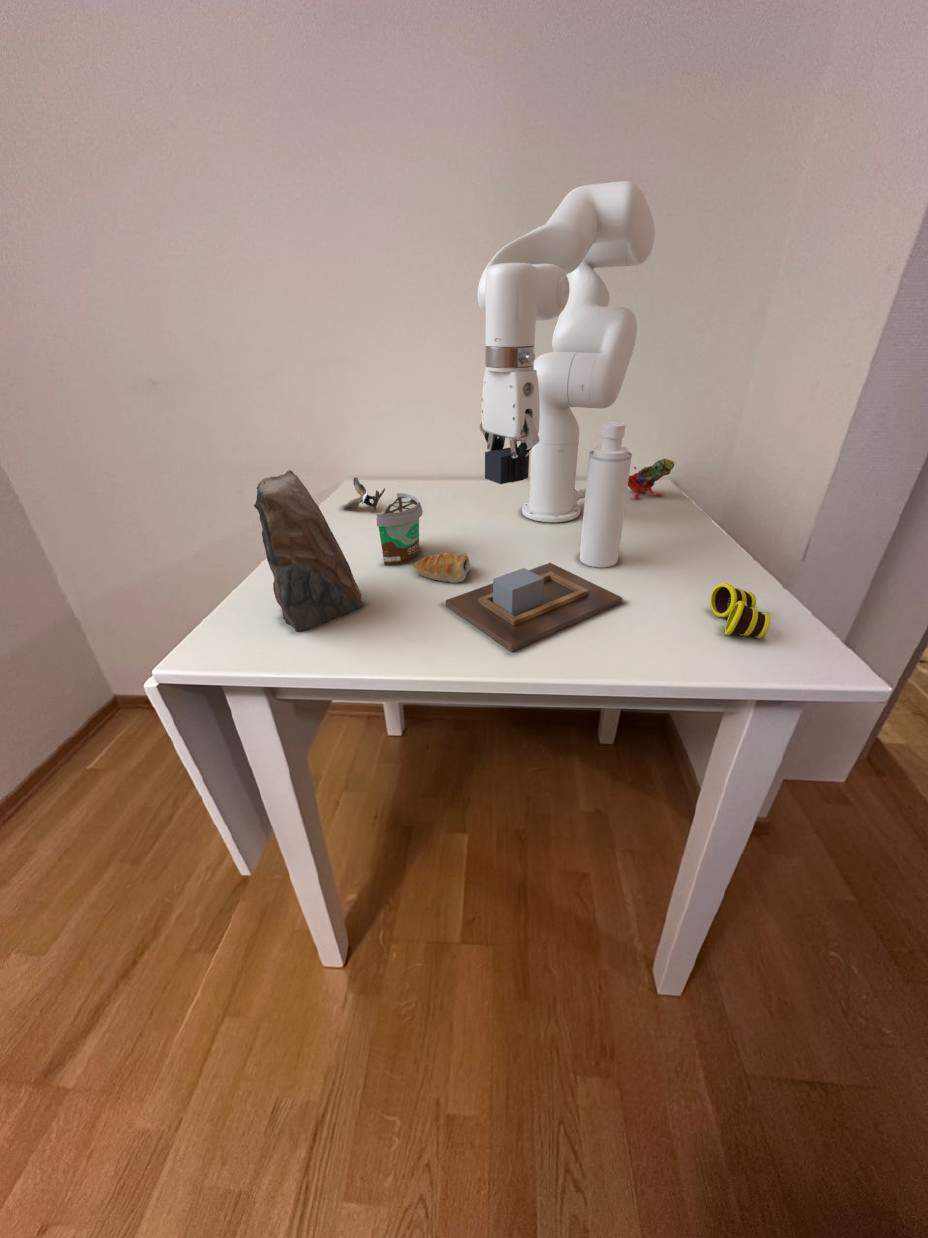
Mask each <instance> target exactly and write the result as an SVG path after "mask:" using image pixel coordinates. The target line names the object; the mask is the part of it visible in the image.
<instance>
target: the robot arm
mask: <svg viewBox="0 0 928 1238" xmlns="http://www.w3.org/2000/svg"><path fill="white" fill-rule="evenodd" d="M655 231H656V230H655V221H654V217H653V214H652V212H651V209H650V207H649V204H648V201H647V199H646V196H645V194H644V193H643V190H642V189H641V188H640V187H639V186H638V185H637V184H636V183H635V182H633V181H631V180H620V181H619V180H618V181H610V182H601V183H591V184H585V185H580V186H578V187H575V188H573V189H572V190H570V191H569V192H568V193H567V194H566V195H565V196H564V197H563V199H562V201H561V202H560V203H559V204H558V206H557V208H556V209H555V210H554V212H553V213H552V215H550V218H548V220H547V221H546V223H545V224H542V225H541V226H539V227H536V228H535V229H533V230H530V231H529V232H527V233H525V234H524V235H522V236H520V237H518V238H516V239H514V240H512V241H510V242H509V243H507V244H506V245H504V246H503V247H502V248H500V249H499V250H497V252H496V253H495V254H494V255H493V257H492V258H491V259H490V260H489V262H488V263H487V265H486V266H485V268H484V270H483V271H482V274H481V275H480V278H479V282H478V287H477V303H478V307H479V309H480V311H481V313H482V314H483V315H484V317H485V348H484V349H485V350H484V357H485V358H484V365H485V366H484V367H485V368H484V374H483V381H482V392H481V410H480V411H481V412H480V413H481V422H480V424H479V430H480V432H481V433H482V435H483V436H484V439H485V442H486V443H487V445H486V449H487V452H488V451H493V450H499V449H504V447H505V443H506V439H509V448H510V449H511V456H512V457H511V458H509V464H508V481H509V483H510V484H511V483H516V482H521V481H524V480H526V479H525V466H526V456H528V455H529V456H530V468H529V470H530V471H529V473H530V474H529V495H528V498H529V499H528V501H526V502H525V503H523V504H522V506H521V514H522V515H523V516H524V517H526V518H527V519H529V520H533V521H536V522H541V523H563V522H569V521H572V520H575V519H576V518H579V516H580V514H581V507H580V506H579V505H578V504H577V503H578V501H580V500H582V499H585V494H586V488H582V489H579V490H577V489H576V479H577V478H576V477H577V465H578V453H579V442H580V426H579V423H578V420H577V418H576V416H575V415H574V412H573V410H571V408H584V409H606V408H610V407H611V406H613V405H614V403H615V402H616V401H617V399H618V397H619V394H620V393H621V392H620V391H621V389H622V386H623V383H624V379H625V376H626V374H627V370H628V368H629V365H630V361H631V359H632V356H633V352H634V348H635V345H636V340H637V334H638V324H637V323H638V322H637V318H636V315H635V313H634V312H633V311H632V310H631V309H630V308H628V307H625V306H609V304H610V291H609V289H608V287H607V285H606V283H605V282H604V281H603V279H602V277H601V276H600V275H599V274H598V273H597V272H596V271H595V269H597V268H618V267H619V268H620V267H634V266H639V265H642V264H643V263H645V262H646V261H647V260H648V258H649V257H650V255H651V253H652V250H653V248H654V243H655V236H656V235H655V234H656V233H655ZM557 317H558V319H557V322H556V325H555V327H554V330H553V334H552V338H551V347H552V351H550V352H546V353H545V352H544V353H542V354H540V355H539V356H538V357H536V355H535V350H536V346H535V345H536V326H537V325H536V324H537V321H550V320H553V319H555V318H557ZM518 442H520V444H519V445H518Z"/></svg>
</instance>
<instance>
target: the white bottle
mask: <svg viewBox="0 0 928 1238" xmlns="http://www.w3.org/2000/svg"><path fill="white" fill-rule="evenodd" d="M625 433H626V423H625V422H622V421H605V422H603V423H601V432H600V436H601V438H602V439H601V445H597V446H596V447H594V448H593V450H591V451H589V454H588V455H589V456H588V463H587V473H586V474H587V475H586V485H585V489H586V494H585V498H584V505H583V517H582V526H581V535H580V536H581V538H580V548H579V561H580V562H581V563H582V564H583V565H585V566H589V567H593V568H611V567H612V566H614V565H616V564H617V563H618V561H619V554H620V545H621V538H622V531H623V525H624V516H625V511H626V510H625V509H626V502H627V500H626V499H627V494H628V488H629V487H628V480H629V476H630V471H631V464H632V456H633V453H632V452H630V451H629V448H627V447H625V446H622V443H623V438H624V437H625Z"/></svg>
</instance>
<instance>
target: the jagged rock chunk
mask: <svg viewBox="0 0 928 1238" xmlns="http://www.w3.org/2000/svg"><path fill="white" fill-rule="evenodd" d="M253 506H254V508H255V509H256V510H257V512H258V515H259V521H260V525H261V529H262V530H261V538H262V544H263V547H264V551H265V556H266V561H267V563H268V566H269V570H270V571H271V573H272V575H273V578H274V580H273V583H272V587H273V589H272V590H273V594H274V597H275V600H276V603H277V604H278V605H279V607H280V608H281V613H282V619H283V620H284V622H285V624H287V625H289V626H291V627H292V628H293V629H294V630H295V632H297V633H298V632H299V633H300V632H305V631H309V630H310V629H313V628H316V626H318V625H321V624H326V623H328V622H329V621H331V620H334V619H336V618H339V617H342V616H347V615H349V614H350V613H352V612H354V611H355V610H359V609H360V608H363V607H364V606H365V605H364V603H363V600H362V592H361V590H360V588H359V586H358V584H357V582H356V579H355V578H354V574H353V572H352V570H351V566H350V564H349V562H348V561H347V558H346V556H345V554H344V552H343V550H342V548H341V546H340V544H339V542H338V541H337V539H336V536H335V534H334V533H333V532H332V530H331V528H330V526H329V523H328V522H327V519H326V517H325V516H324V514H323V512H322V510H321V509H320V506H319V505H318V504H317V503H316V502H315V499H314V498H313V496H312V495H311V493H310V492H309V490H308V489H307V487H306V486H305V485H304V483H303V482H302V481H301V479H300V478H299V477H298V475H297V474H295V473H294V472H293V471H292V470H291V469H289V470H287V471H286V472H285V473H284V474H279V475H277V476H269V477H265V478H263V479H262V480H260V481H259V482H258V484H257V487H256V501H255V503H254V504H253Z"/></svg>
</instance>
